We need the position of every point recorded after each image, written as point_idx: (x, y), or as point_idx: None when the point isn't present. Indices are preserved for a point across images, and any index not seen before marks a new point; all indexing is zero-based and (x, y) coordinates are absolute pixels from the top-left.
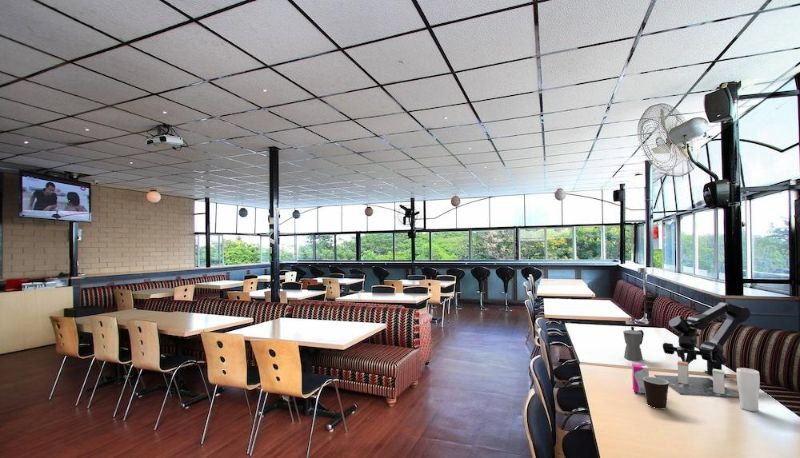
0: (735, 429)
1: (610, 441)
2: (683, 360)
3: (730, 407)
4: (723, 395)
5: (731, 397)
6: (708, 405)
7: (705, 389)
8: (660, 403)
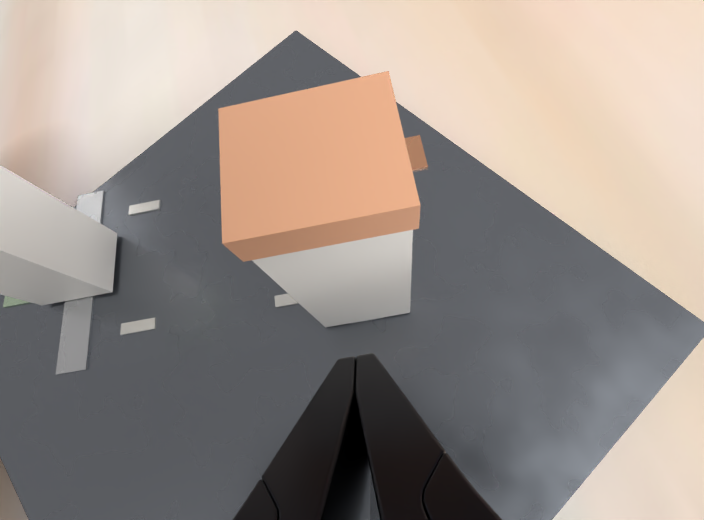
0: None
1: None
2: (389, 429)
3: (40, 72)
4: None
5: None
6: (138, 9)
7: (176, 262)
8: None
